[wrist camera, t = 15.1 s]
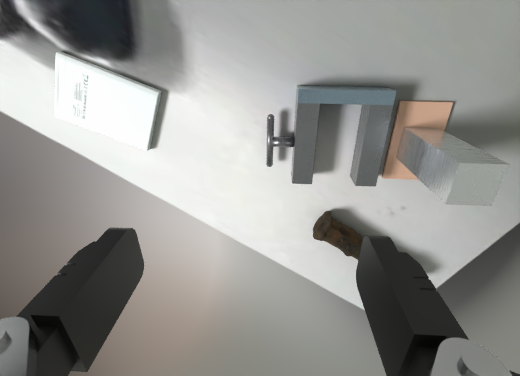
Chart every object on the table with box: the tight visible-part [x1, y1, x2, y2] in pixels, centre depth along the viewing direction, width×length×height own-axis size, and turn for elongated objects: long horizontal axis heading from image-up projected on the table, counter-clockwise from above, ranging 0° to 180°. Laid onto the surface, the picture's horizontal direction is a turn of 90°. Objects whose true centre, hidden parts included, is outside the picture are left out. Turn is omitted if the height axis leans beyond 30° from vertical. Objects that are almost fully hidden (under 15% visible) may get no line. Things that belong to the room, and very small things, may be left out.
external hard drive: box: [54, 52, 162, 151], centre depth 35 cm, size 2×8×12 cm
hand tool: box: [313, 211, 364, 260], centre depth 41 cm, size 19×4×5 cm, turn 55°
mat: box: [382, 101, 453, 180], centre depth 35 cm, size 10×6×1 cm, turn 179°
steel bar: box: [396, 127, 510, 206], centre depth 29 cm, size 4×4×12 cm
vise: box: [267, 86, 396, 186], centre depth 34 cm, size 12×14×3 cm
